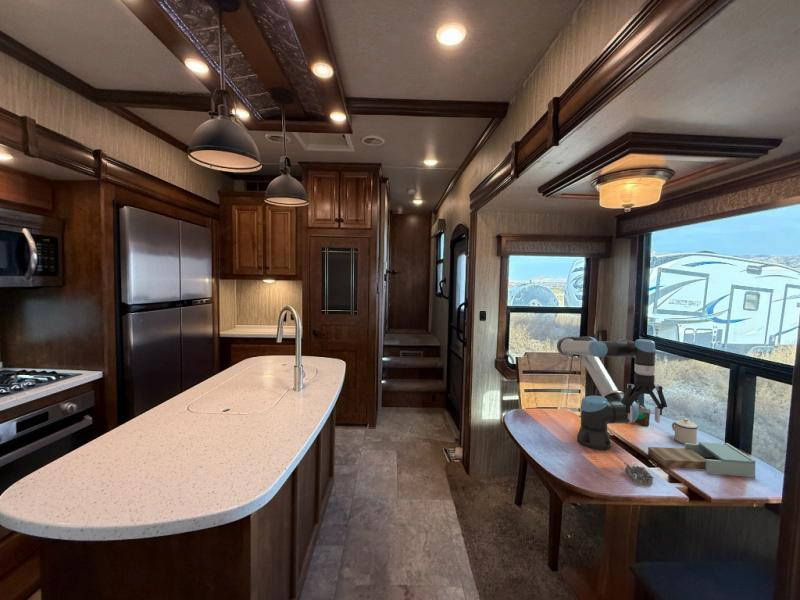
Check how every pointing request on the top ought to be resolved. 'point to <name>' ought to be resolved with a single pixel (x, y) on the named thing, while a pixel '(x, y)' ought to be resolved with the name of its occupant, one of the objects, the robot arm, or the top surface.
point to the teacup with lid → (685, 431)
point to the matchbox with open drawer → (724, 459)
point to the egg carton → (639, 475)
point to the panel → (677, 458)
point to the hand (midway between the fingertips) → (643, 420)
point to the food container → (643, 415)
